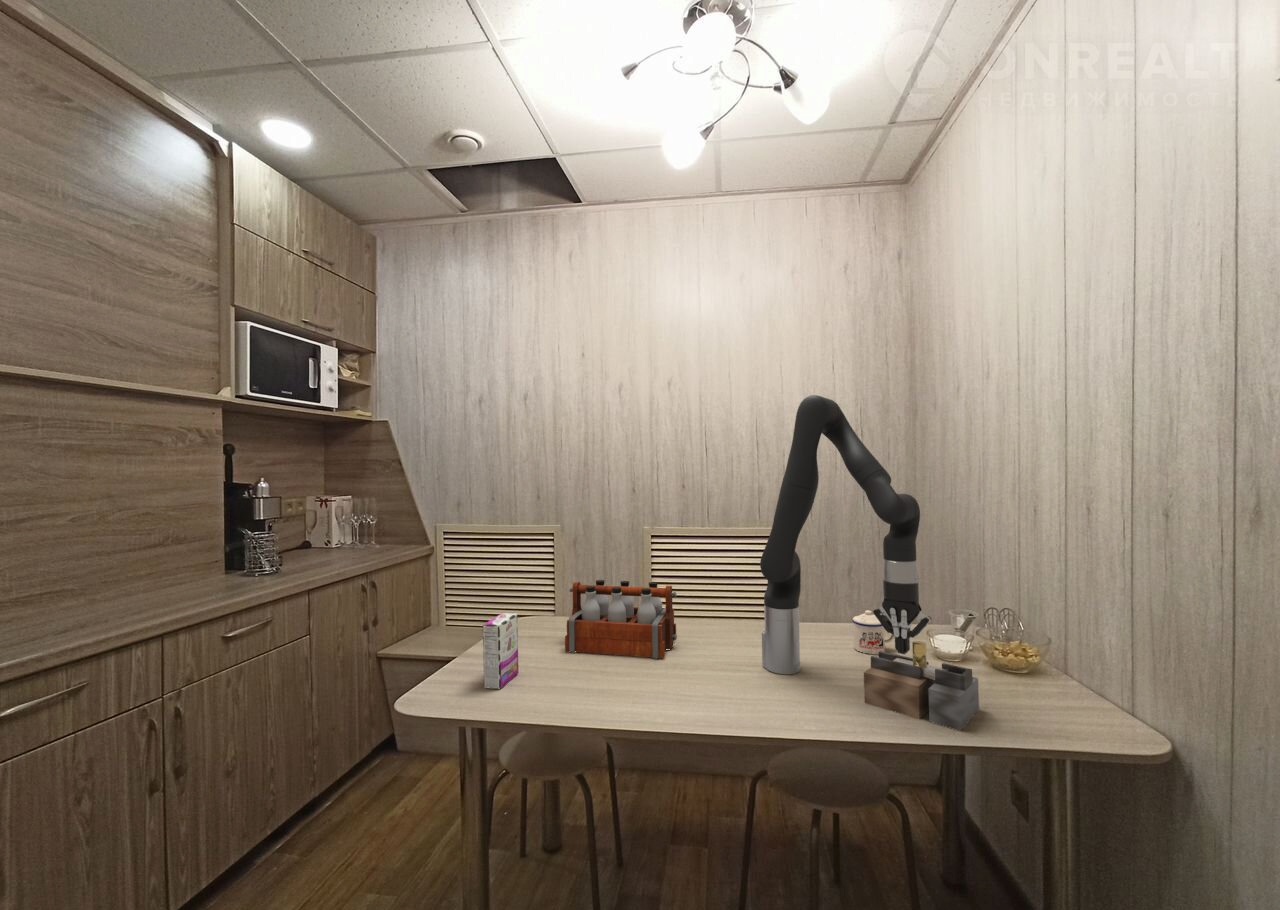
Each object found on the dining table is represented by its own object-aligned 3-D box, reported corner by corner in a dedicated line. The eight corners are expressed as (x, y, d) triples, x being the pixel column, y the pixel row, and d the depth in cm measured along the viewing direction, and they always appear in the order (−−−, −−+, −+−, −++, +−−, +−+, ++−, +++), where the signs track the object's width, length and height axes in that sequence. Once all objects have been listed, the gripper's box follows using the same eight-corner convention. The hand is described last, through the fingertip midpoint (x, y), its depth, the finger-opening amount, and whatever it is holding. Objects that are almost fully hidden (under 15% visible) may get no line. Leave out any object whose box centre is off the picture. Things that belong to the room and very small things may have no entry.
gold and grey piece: (892, 669, 127) (892, 639, 127) (897, 666, 129) (896, 636, 129) (944, 682, 119) (943, 650, 119) (948, 678, 121) (947, 646, 121)
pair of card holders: (864, 702, 126) (863, 659, 126) (887, 685, 136) (886, 645, 136) (960, 731, 112) (959, 682, 112) (979, 709, 122) (977, 664, 122)
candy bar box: (502, 672, 148) (501, 612, 149) (519, 673, 147) (518, 613, 148) (482, 689, 137) (481, 623, 138) (500, 690, 136) (500, 624, 137)
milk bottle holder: (582, 632, 185) (581, 575, 185) (683, 638, 176) (682, 579, 177) (557, 652, 164) (557, 589, 165) (670, 661, 156) (669, 593, 156)
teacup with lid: (857, 654, 158) (856, 614, 159) (849, 644, 167) (848, 606, 168) (900, 655, 157) (899, 615, 157) (890, 645, 166) (889, 607, 166)
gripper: (865, 577, 129) (867, 650, 129) (925, 585, 120) (927, 664, 120) (878, 573, 135) (880, 643, 134) (936, 580, 125) (938, 655, 125)
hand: (902, 652), depth 127 cm, fingers closed
